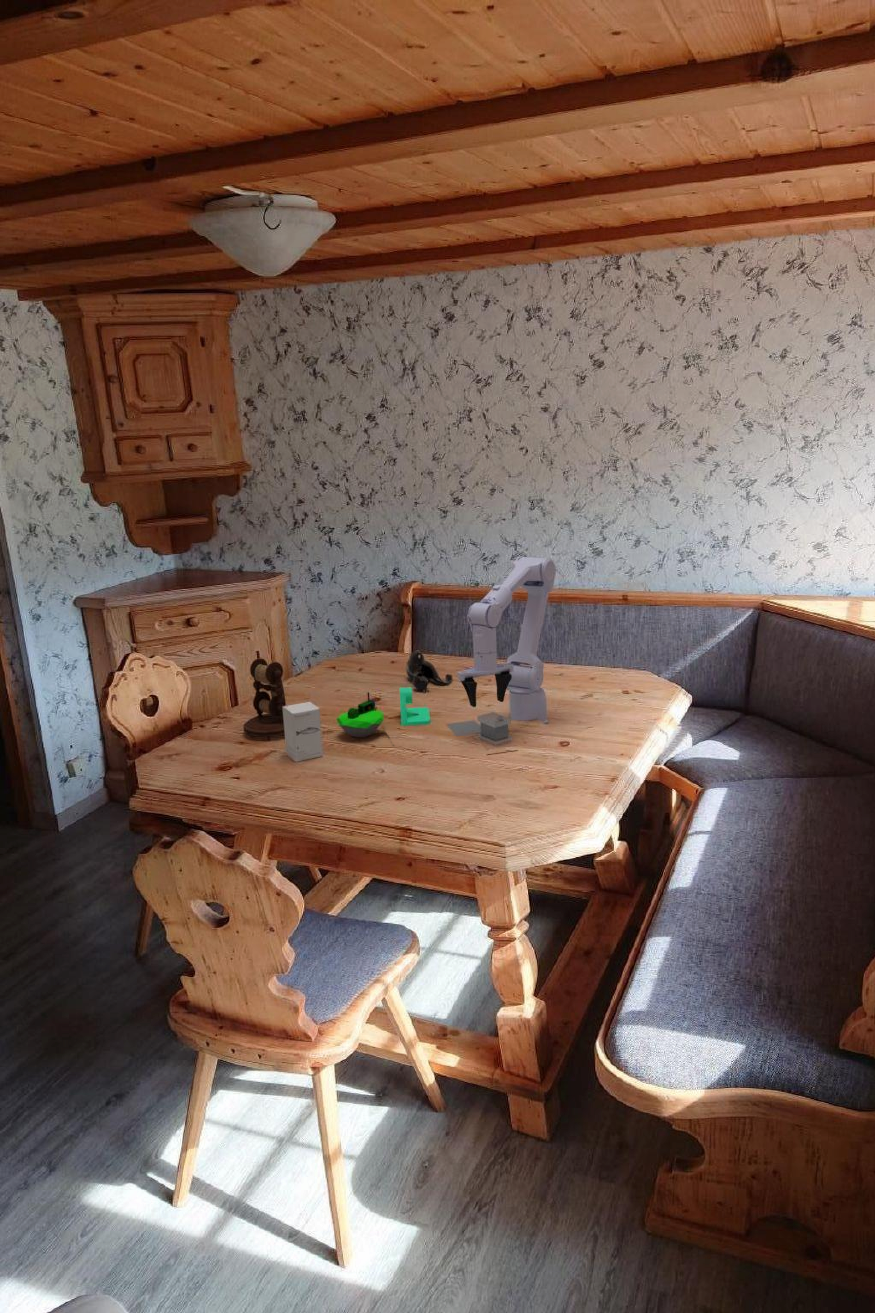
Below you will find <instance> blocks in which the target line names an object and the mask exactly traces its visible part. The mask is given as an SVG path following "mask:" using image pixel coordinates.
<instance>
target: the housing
mask: <svg viewBox="0 0 875 1313" xmlns="http://www.w3.org/2000/svg"><path fill="white" fill-rule="evenodd" d="M477 722H479V725H480V726H481V733H477V736H478V739H479V740H481V741H484V742H486V743H488V744H491V745H493V746H495V747H496V746H499V745H502V744H506V743H509V742H511V739H512V736H509V724H512V719H511V718H510V717H508V716H505V715H501V714H499V713H497V712H494V711H493V712H490V713H484V714H481V715H477Z"/></svg>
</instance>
